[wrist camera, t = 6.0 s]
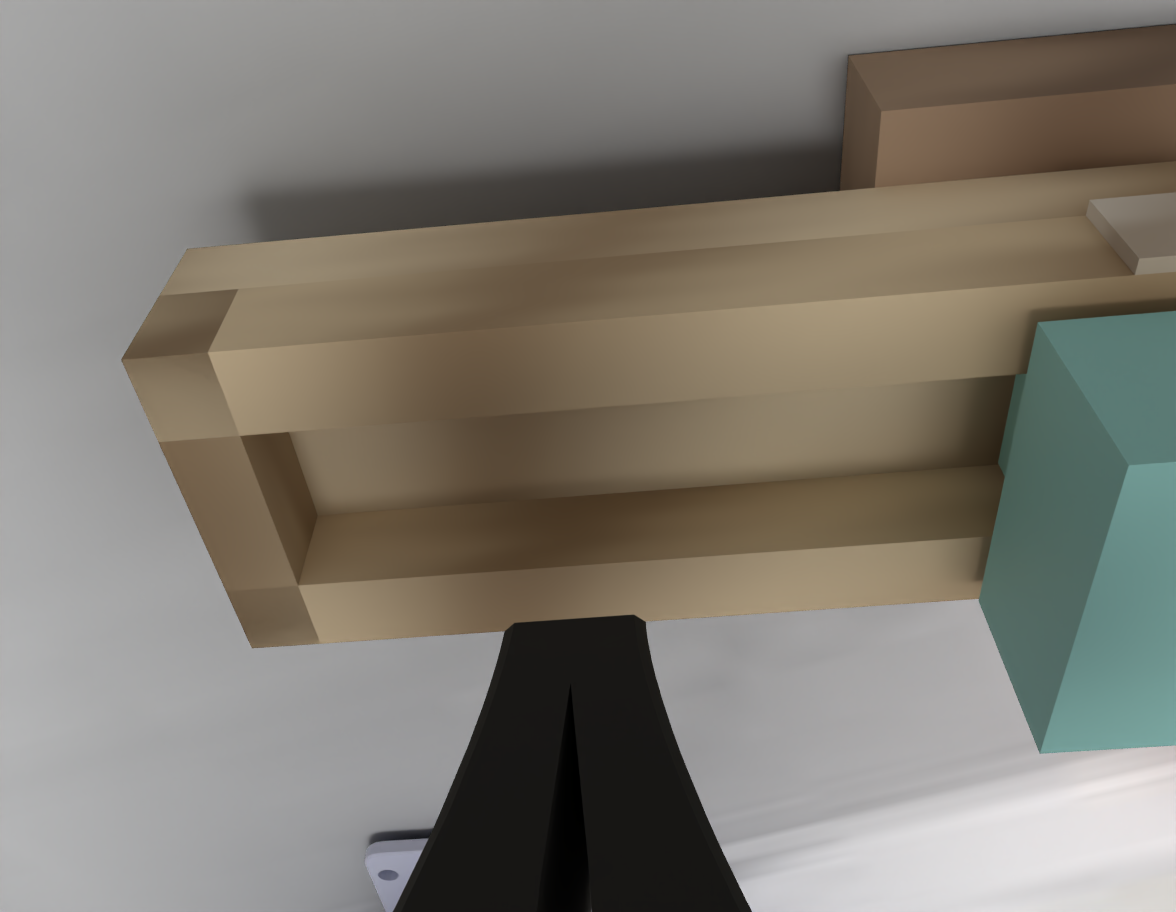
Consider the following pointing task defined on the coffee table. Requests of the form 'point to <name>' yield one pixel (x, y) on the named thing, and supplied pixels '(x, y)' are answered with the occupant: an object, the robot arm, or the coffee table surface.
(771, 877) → the coffee table surface
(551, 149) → the coffee table surface
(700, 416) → the tan wooden slatted block
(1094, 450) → the teal cube
